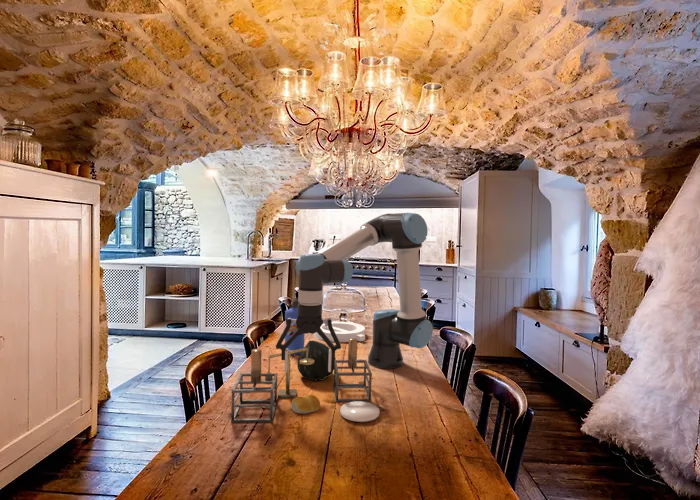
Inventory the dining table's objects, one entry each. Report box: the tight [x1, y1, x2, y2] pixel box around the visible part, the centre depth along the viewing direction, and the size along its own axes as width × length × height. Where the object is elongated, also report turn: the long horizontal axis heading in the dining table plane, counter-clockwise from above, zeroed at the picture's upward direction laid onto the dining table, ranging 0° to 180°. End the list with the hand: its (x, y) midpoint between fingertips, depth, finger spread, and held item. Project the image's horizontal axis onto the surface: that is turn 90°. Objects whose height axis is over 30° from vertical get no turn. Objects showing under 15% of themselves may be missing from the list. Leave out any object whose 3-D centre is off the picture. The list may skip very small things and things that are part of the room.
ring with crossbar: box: [313, 321, 366, 343], centre depth 214 cm, size 28×28×5 cm
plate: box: [339, 401, 380, 423], centre depth 119 cm, size 12×12×2 cm
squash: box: [297, 340, 336, 381], centre depth 150 cm, size 14×15×15 cm
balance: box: [261, 348, 314, 399], centre depth 132 cm, size 18×5×16 cm, turn 95°
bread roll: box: [290, 394, 321, 415], centre depth 123 cm, size 8×9×4 cm
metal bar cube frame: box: [333, 338, 373, 403], centre depth 135 cm, size 12×14×19 cm
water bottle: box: [284, 297, 305, 356], centre depth 180 cm, size 9×9×25 cm
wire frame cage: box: [230, 348, 278, 424], centre depth 119 cm, size 12×14×19 cm
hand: (307, 370), depth 122 cm, fingers open, 13 cm apart
